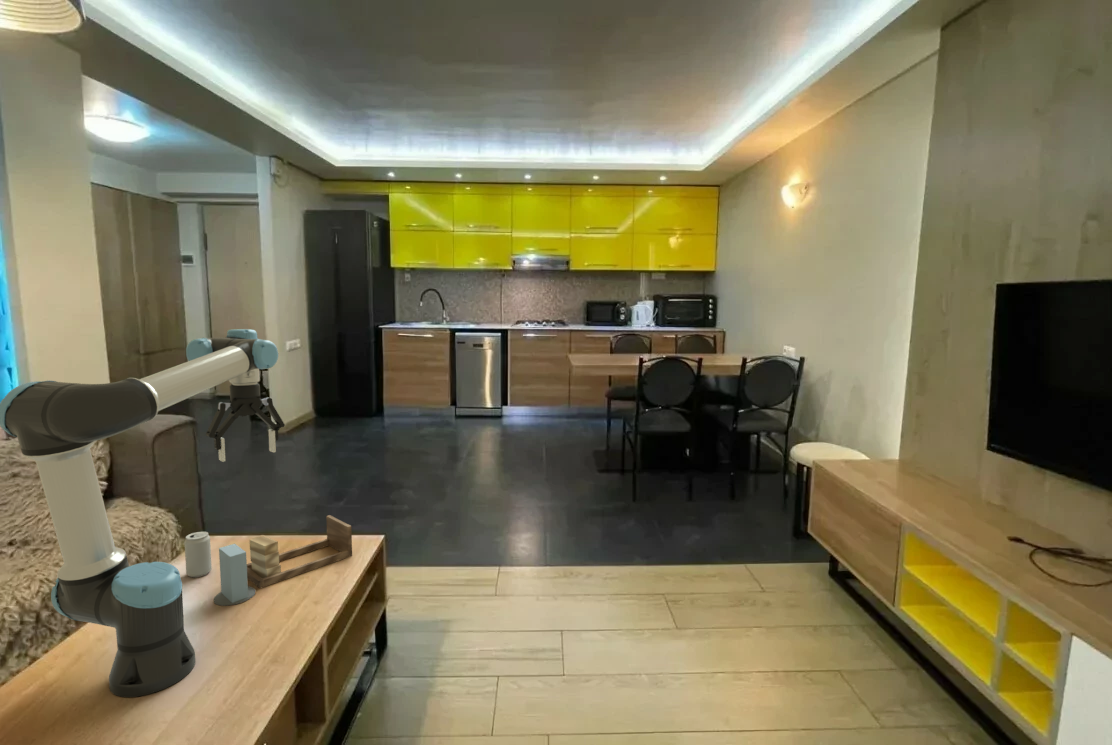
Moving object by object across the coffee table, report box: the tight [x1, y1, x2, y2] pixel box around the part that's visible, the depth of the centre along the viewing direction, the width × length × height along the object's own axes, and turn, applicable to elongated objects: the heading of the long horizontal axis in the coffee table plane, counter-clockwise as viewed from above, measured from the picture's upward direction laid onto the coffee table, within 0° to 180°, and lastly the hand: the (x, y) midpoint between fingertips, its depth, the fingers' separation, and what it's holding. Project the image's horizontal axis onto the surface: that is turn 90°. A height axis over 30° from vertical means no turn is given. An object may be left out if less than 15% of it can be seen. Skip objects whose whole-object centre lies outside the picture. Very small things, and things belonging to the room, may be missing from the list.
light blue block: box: [218, 543, 249, 603], centre depth 151 cm, size 4×8×13 cm, turn 50°
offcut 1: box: [248, 534, 279, 556], centre depth 163 cm, size 4×8×3 cm, turn 58°
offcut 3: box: [251, 561, 282, 579], centre depth 164 cm, size 4×10×4 cm, turn 52°
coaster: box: [213, 585, 256, 607], centre depth 152 cm, size 10×10×1 cm
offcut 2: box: [249, 549, 280, 570], centre depth 163 cm, size 4×9×4 cm, turn 54°
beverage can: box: [184, 531, 212, 578], centre depth 164 cm, size 6×6×12 cm
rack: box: [247, 514, 353, 589], centre depth 171 cm, size 28×14×10 cm, turn 140°
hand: (248, 456), depth 159 cm, fingers open, 13 cm apart
